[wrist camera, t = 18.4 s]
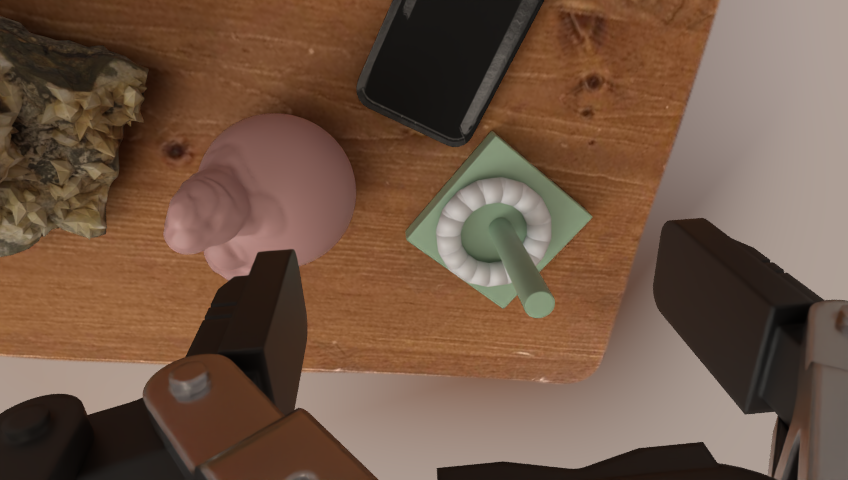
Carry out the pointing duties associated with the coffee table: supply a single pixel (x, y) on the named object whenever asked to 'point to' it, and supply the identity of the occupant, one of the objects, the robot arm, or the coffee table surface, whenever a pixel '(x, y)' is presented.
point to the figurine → (264, 195)
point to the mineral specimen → (60, 133)
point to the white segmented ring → (476, 198)
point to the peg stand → (503, 225)
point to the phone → (443, 62)
